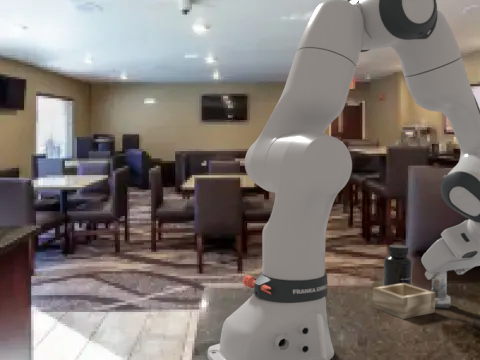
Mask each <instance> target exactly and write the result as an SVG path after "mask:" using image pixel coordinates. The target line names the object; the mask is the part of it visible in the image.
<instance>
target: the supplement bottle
mask: <svg viewBox="0 0 480 360" xmlns="http://www.w3.org/2000/svg"><path fill="white" fill-rule="evenodd" d="M387 249H388V250H387V253H388V255H386V256H385V258H384V260H383V278H382V279H383V285H382V286H387V285H394V284H400V283H406V284H409V285H413V260H412V259H411V258H410V256H408V255H410V254H409V253H410V252H409V246H407V245H404V244H390V245H388V248H387Z"/></svg>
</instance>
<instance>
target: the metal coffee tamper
mask: <svg viewBox="0 0 480 360" xmlns="http://www.w3.org/2000/svg"><path fill="white" fill-rule="evenodd" d="M436 274H437V276H436V277H435V278H434V279H431V291H432V292H435V309H436V308H437V309H448V308H451V300H452V299H451V296H450V295H448V294H447V289H448V288H447V287H448V285H447V283H448V281H447V278H448V271H443V272H437V273H436Z"/></svg>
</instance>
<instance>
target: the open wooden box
mask: <svg viewBox="0 0 480 360" xmlns="http://www.w3.org/2000/svg"><path fill="white" fill-rule="evenodd" d="M372 308H374V309H376V310H379V311H381V312H384V313H387V314H389V315H392V316H395V317H398V318H400V319H402V320H404V319H409V318H414V317H415V318H416V317H420V316H424V315H430V314H434V313H435V312H436V308H435V292H432V290H428V289H425V288H422V287H420V286H419V287H418V286H415V285H413V284H412V285H409V284H406V283H400V284H394V285H387V286H383V285H382V286H376V287H372Z"/></svg>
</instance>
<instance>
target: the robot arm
mask: <svg viewBox="0 0 480 360" xmlns="http://www.w3.org/2000/svg"><path fill="white" fill-rule="evenodd" d="M388 47H391V48H392V49H393V50H394V51H395V52H396V54H397V56H398V59H399V64H400V67H401V71H402V74H403V78H404V81H405V84H406V86H407V89H408V92H409V94H410V95H411V97H412V99H413V101H414V102H415V104H416V105H417V106H419V107H421V108H422V109H424V110H427V111H431V112H437V113H441V114H443V115H444V116H445V118H447V119H448V121H449V123H450V126H451V128H452V131H453V133H454V136H455V139H456V141H457V143H458V147H459V149H460V150H459V151H460V155H459V160H458V163H456V165H455V166H453V168H452V169H451V170H450V171H449V172H448V173H447V175H446V176H444V178H443V179H442V181H441V185H440V194H441V197H442V200H443V201H444V202H445V204H446V205H447V206H448V207H450V208H451V209H452V210H453V211H455V212H456V213H458V214H460V215H461V216H463V217H465V218H466V219H465V220H463V222H461V223H459V224H457V225H454V226H451V227H448V228H446V229H444V230H443V231H442V232H441V233H440V236H441V237H440V238H439V239H437V240H436V241H435V242H433V244H431V246H430V247H429V248H428V249H427V250H426V252H424V253H423V255H422V257H421V264H422V265H423V267H424V268H425V270H426V271H425V273H424V276H425V278H426V279H427V280H432V279H434V278H435V277H436V276H437V274H436V273H437V272H443V271H447V272H448V271H454V272H455V274H457V275H459V276H460V275H465V273H466V272H468V271H469V270H471V269H473V268H475V267H479V266H480V106H479V104H478V101H477V99H476V97H475V94H474V92H473V89H472V87H471V84H470V80H469V78H468V77H469V76H468V74H467V71H466V70H467V69H466V67H465V64H464V60H463V57H462V53H461V50H460V48H459V45H458V41H457V40H456V36H455V35H454V33H453V29H452V27H451V26H450V24H449V22H448V20H447V19H446V16H445V14H443V13H442V12H441V11H439V10H438V3H437V0H325V1H323V2H321V3H319V5H317V6H316V8H315V9H314V11H313V13H312V14H311V16H310V18H309V20H308V22H307V24H306V26H305V28H304V31H303V33H302V34H301V38H300V40H299V42H298V44H297V48H296V51H295V55H294V58H293V61H292V65H291V67H290V70H289V73H288V76H287V79H286V83H285V85H284V88H283V91H282V93H281V95H280V98H279V100H278V102H277V104H276V105H275V107H274V108H273V111H272V113H271V114H270V117H269V119H267V122H266V124H265V126H264V127H263V129H262V131H261V133H260V135H259V136H258V137H257V139H256V140H255V141H254V142H253V143H252V145H250V147H249V148H248V150H247V152H246V154H245V157H244V158H245V159H244V169H245V172H246V174H247V176H248V177H249V179H250V180H251V182H253V183H254V184H256V185H257V186H258V187H260V188H262V189H263V190H265V191H267V192H270V193H275V194H274V195H275V196H274V202H273V207H272V210H271V213H270V217H269V219H268V221H267V222H266V224H265V225H264V226H263V229H262V231H261V232H262V235H261V236H262V237H261V238H262V241H261V242H262V245H261V246H262V253H261V254H262V258H261V261H262V271H261V272H260V274H259V276H258V277H257V278H256V277H254V276H252V275H249V274H247V275H244V277H243V278H242V284H243V285H244V286H245V287H247V288H249V289H253V294H252V295H251V296H250V297H248V299H247V300H246V301H245V302H244V303H242V305H240V306H239V307H238V308H237V309H236V310H235V311H234V312H232V313H231V314H230V315H229V316H228V317H226V319H225V320H224V321H223V324H222V329H221V331H220V332H221V333H220V340H219V343H216V344H213V345H210V346H209V347H208V349H207V359H208V360H331V359H333V357H334V355H335V350H334V347H333V344H332V343H333V342H332V340H331V335H330V329H329V324H328V317H327V316H328V314H327V304H326V303H327V302H326V301H327V298H328V297H327V296H328V291H329V290H328V273H326V239H327V236H326V235H327V227H328V222H329V218H330V214H331V211H332V207H333V205H334V202H335V199H336V198H337V196H338V194H339V193H340V192H341V190H342V191H343V188H345V186H346V185H347V183H348V182H349V180H350V177H351V175H352V169H353V161H352V156H351V154H350V151H349V149H348V147H347V146H346V144H345V143H344V142H343V141H341V140H340V139H339V138H337V137H334V136H332V135H329V134H326V133H325V132H326V131H327V130H328V128H329V126H330V125H331V124H332V123H333V121H335V120H336V119H337V118H338V117H339V116H340V115H341V113H342V112H343V111H344V108H345V107H346V102H347V98H348V96H349V93H350V89H351V86H352V82H353V79H354V75H355V73H356V70H357V65H358V62H359V58H360V54H361V53H366V52H368V51H371V50H376V49H381V48H388Z"/></svg>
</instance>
